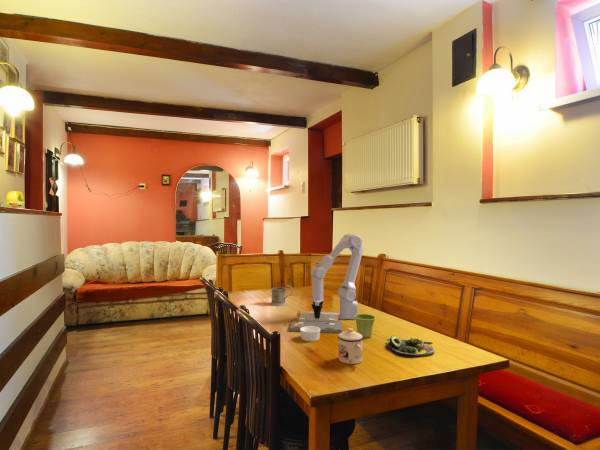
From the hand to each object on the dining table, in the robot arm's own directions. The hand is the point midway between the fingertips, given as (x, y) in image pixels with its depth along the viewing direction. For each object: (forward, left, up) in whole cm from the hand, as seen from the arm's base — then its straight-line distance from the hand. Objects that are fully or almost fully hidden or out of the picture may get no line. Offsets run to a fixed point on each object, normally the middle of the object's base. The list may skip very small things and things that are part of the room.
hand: (317, 316), depth 189 cm
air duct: (0, 0, -2) cm, 2 cm away
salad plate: (-38, +38, -3) cm, 54 cm away
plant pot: (-22, +23, -2) cm, 32 cm away
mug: (+23, -32, -2) cm, 39 cm away
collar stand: (0, +14, -2) cm, 14 cm away
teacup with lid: (-15, +53, -2) cm, 55 cm away
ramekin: (+2, +29, -2) cm, 29 cm away
